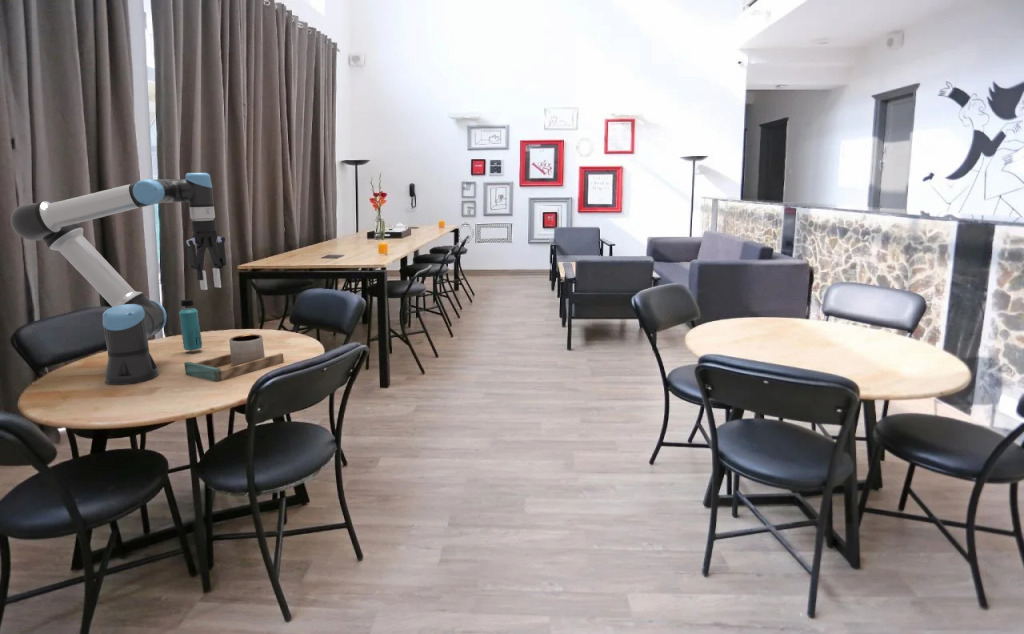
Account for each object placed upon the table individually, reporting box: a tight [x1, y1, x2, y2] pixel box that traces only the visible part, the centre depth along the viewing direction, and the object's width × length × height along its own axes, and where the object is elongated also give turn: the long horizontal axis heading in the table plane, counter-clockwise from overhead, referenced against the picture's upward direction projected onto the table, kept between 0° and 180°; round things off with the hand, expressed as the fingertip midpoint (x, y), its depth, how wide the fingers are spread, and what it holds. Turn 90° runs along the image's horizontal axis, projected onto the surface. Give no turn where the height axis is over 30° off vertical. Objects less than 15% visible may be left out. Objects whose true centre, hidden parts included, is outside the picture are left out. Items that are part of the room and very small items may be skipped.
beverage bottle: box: [178, 298, 203, 351], centre depth 244 cm, size 6×7×20 cm
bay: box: [183, 352, 285, 383], centre depth 224 cm, size 26×17×4 cm, turn 148°
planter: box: [228, 333, 266, 367], centre depth 227 cm, size 11×11×10 cm
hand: (211, 288), depth 225 cm, fingers open, 4 cm apart
